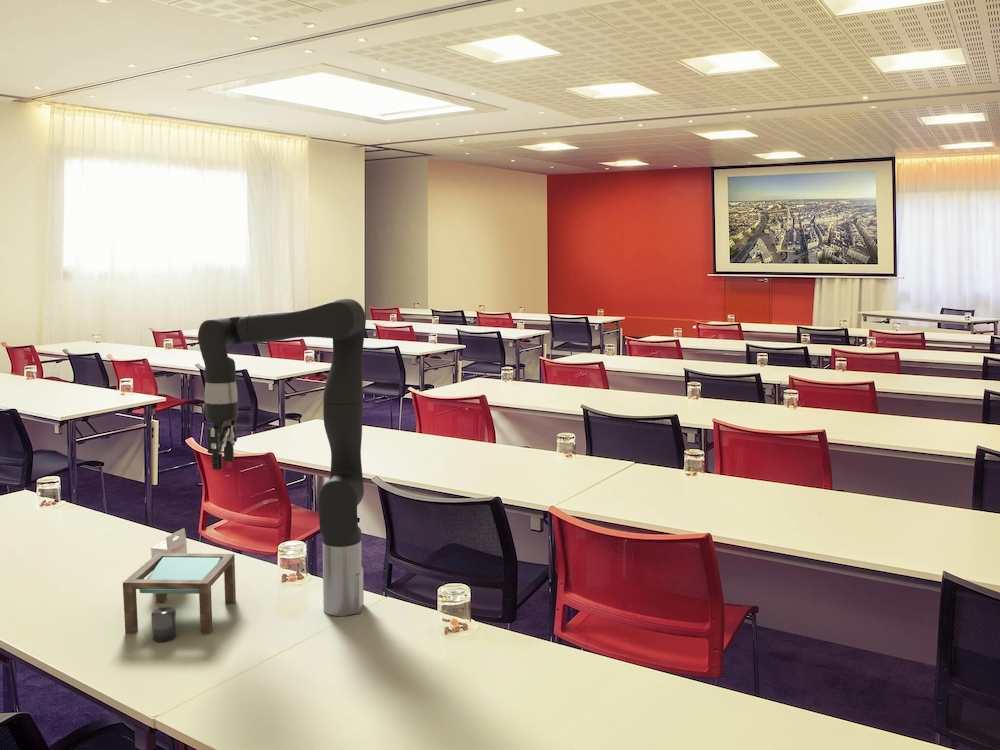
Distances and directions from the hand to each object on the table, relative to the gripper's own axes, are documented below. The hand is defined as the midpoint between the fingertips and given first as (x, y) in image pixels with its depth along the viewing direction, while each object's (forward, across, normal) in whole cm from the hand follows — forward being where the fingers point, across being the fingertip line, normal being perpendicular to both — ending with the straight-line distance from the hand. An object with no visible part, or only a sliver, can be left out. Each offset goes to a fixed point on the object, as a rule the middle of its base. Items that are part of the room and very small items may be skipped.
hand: (223, 465), depth 201 cm
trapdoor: (+24, -11, +7) cm, 28 cm away
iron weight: (+28, -22, +7) cm, 37 cm away
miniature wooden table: (+34, -11, +7) cm, 37 cm away
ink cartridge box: (+34, +7, +17) cm, 39 cm away
